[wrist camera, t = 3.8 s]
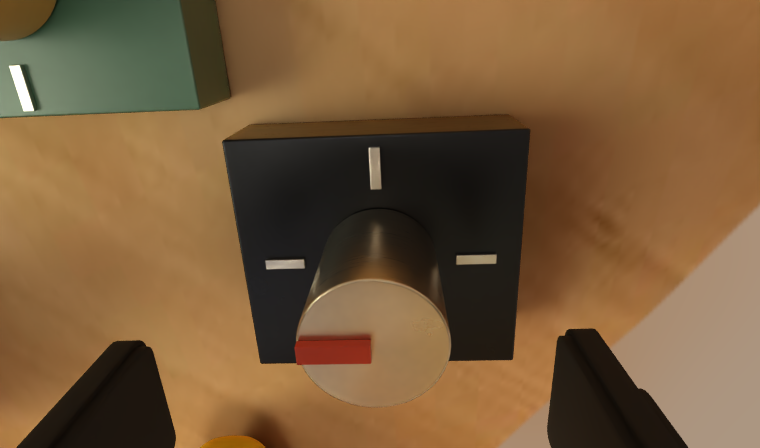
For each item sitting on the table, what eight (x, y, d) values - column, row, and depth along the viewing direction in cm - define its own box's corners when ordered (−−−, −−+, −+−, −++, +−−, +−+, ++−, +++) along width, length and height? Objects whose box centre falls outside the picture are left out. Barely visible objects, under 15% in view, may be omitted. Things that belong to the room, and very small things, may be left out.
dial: (436, 206, 16) (453, 283, 11) (436, 307, 17) (451, 416, 12) (319, 210, 16) (284, 287, 11) (328, 310, 17) (302, 417, 12)
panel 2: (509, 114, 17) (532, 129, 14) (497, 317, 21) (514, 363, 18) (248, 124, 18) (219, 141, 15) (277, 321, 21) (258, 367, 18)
